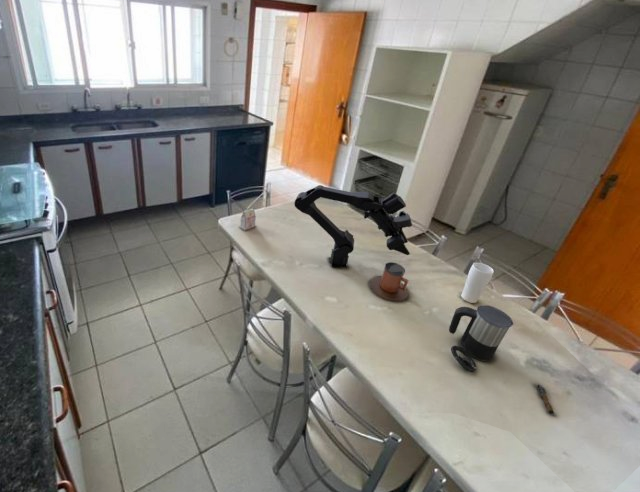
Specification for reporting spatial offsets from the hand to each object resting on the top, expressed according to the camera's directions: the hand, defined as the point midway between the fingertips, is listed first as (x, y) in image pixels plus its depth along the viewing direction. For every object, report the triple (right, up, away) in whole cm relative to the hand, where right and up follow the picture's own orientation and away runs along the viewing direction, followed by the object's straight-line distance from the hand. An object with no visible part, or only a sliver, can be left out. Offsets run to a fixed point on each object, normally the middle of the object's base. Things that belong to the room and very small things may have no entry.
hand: (407, 248), depth 130 cm
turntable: (-8, -16, 0) cm, 18 cm away
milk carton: (-63, +5, +38) cm, 74 cm away
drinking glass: (+22, -19, -3) cm, 30 cm away
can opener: (+18, -37, -39) cm, 57 cm away
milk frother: (+6, -30, -26) cm, 41 cm away
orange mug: (-7, -15, -1) cm, 17 cm away
